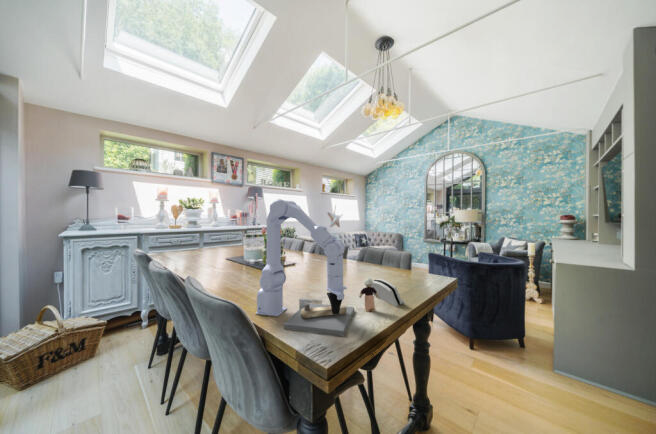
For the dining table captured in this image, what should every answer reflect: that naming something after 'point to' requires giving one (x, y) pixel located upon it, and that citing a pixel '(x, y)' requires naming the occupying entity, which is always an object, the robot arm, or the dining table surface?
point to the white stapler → (387, 292)
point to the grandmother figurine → (369, 295)
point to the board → (321, 322)
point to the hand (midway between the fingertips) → (335, 313)
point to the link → (319, 311)
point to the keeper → (307, 300)
